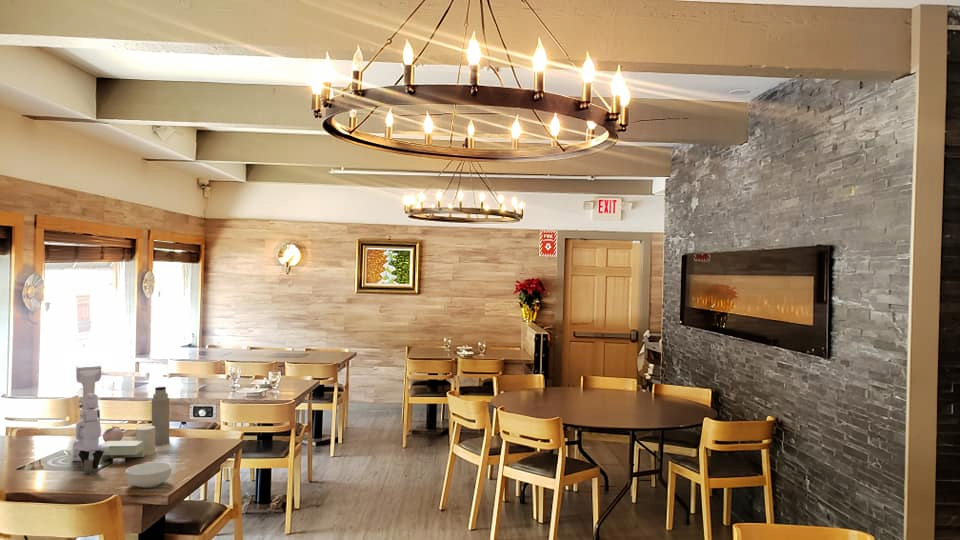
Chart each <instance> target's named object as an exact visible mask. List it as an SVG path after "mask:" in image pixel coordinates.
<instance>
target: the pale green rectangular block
mask: <svg viewBox="0 0 960 540" xmlns="http://www.w3.org/2000/svg"><path fill="white" fill-rule="evenodd" d="M144 442H145V441H136V440H121V441H107V442H105V441H104V443H101V444H100V446H110V450H109V451H108V452H105V451H104V453H103V454H102V456H101V459H100V461H99V463H101V462H106V461H107V460H108V459H113V457H117V456H125V457H143V458H144V457H145V455H144Z"/></svg>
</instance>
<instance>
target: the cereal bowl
mask: <svg viewBox="0 0 960 540" xmlns="http://www.w3.org/2000/svg"><path fill="white" fill-rule="evenodd" d="M172 468H173V467H172V465H171V464H169V463H167V462H161V461H159V462H158V461H157V462H154V461H153V462H145V463H139V464H138V463H137V464H135V465H132V466H129V467H128V468H126V469H125V471H124V472H125V479H126V481H127V482H128V483H129V484H130V485H132V486H136V487H138V488H140V487H151V488H155V487H157V486H159V485H160V484H163V483H164V482H166V481H167V480H169V478H170V477H171V474H172ZM154 486H155V487H154Z"/></svg>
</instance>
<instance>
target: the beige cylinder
mask: <svg viewBox="0 0 960 540" xmlns="http://www.w3.org/2000/svg"><path fill="white" fill-rule="evenodd" d="M135 438H136V439H135V441H145V442H144V456H149V455H148V454H150V455H153V454H155V453H156V445H155V426H152V425H145V426H144V425H142V426H138V427H136V428H135ZM152 453H153V454H152Z"/></svg>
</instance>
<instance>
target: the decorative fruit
mask: <svg viewBox="0 0 960 540" xmlns="http://www.w3.org/2000/svg"><path fill="white" fill-rule="evenodd" d="M123 437H124V432H123V430H122V429H120V427H119V426H112V427H109V428H107V429H106V430H105V431H104V432H103V434H102V439H103V441H104V443H105V442H107V441H122V439H123Z"/></svg>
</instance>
